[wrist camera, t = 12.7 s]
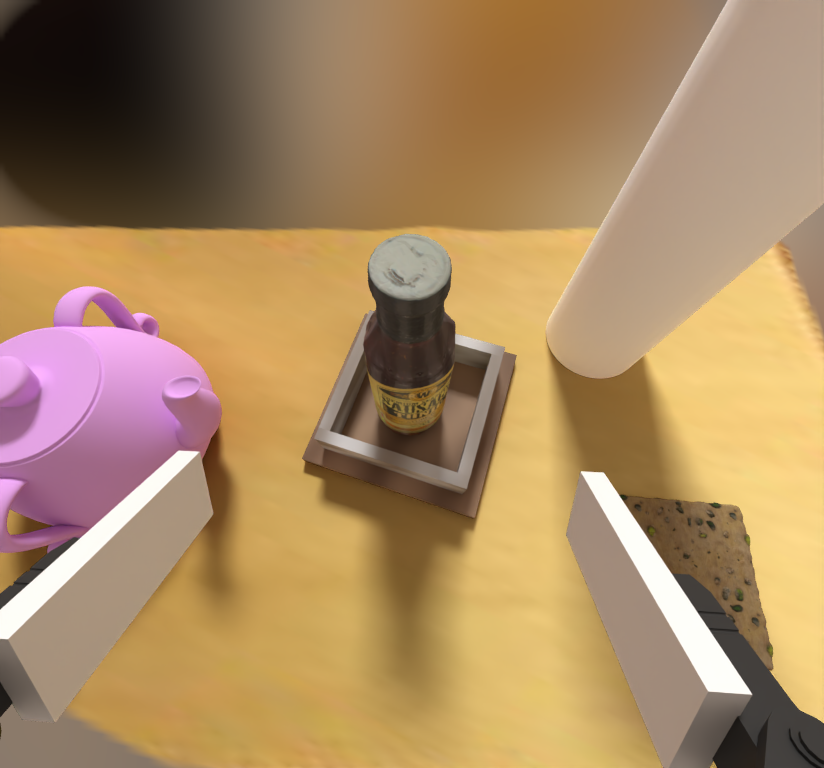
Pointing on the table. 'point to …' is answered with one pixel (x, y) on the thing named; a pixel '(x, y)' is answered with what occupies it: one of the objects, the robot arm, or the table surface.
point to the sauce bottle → (409, 332)
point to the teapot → (92, 416)
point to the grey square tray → (421, 453)
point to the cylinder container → (704, 187)
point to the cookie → (708, 557)
